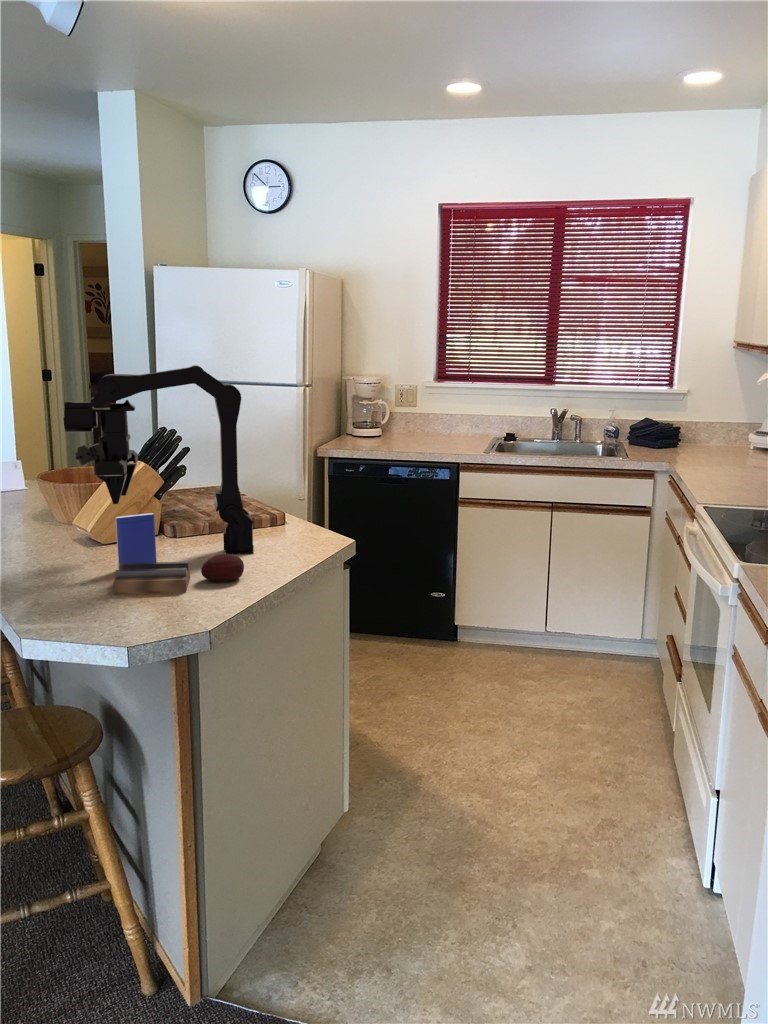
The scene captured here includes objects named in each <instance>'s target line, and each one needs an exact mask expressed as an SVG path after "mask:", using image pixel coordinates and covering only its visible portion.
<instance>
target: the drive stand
mask: <svg viewBox="0 0 768 1024" xmlns="http://www.w3.org/2000/svg"><path fill="white" fill-rule="evenodd" d="M189 562H190V561H168V562H167V561H165V562H163V561H161V562H156V563H122V564H119V569H116V570H115V571H114V579H113V593H114V594H113V595H114V596H121V595H125V596H127V595H150V594H152V595H153V594H154V595H155V594H180V593H181V594H182V593H187V591H188V587H189V584H190V580H191V566H190V563H189Z"/></svg>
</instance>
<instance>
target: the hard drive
mask: <svg viewBox="0 0 768 1024" xmlns="http://www.w3.org/2000/svg"><path fill="white" fill-rule="evenodd" d="M155 524H156V523H155V514H154V513H153V512H150V513H142V514H141V513H140V514H132V515H130V514H129V515H122V516H115V532H116V533H115V535H116V548H117V549H116V551H117V553H116V554H117V568H118V569H117V570H119V564H122V563H156V562H157V561H158V560H157V548H156V547H157V544H156V543H157V542H156V527H155V526H156V525H155Z"/></svg>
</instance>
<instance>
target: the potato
mask: <svg viewBox="0 0 768 1024" xmlns="http://www.w3.org/2000/svg"><path fill="white" fill-rule="evenodd" d="M244 570H245V564H244V562H243V560H242V559H241V557H239V556H238V555H236V554H226V553H220V554H219V553H218V554H215V555H213V556H211V557H209V558H208V559H207V560H205V562H204V563H203V564H202V567H201V571H200V573H201V576H202V577H204V579H206V580H209V581H210V582H215V583H216V582H217V583H226V582H231V581H235V580H238V579H239V578H241V577H242V576H243V573H244Z"/></svg>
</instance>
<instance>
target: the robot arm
mask: <svg viewBox="0 0 768 1024" xmlns="http://www.w3.org/2000/svg"><path fill="white" fill-rule="evenodd" d="M187 385H196V386H198V387H199V388H200V389H202V390H203V391H205V392H206V393H207V394H209V395H210V396H211V397H213V399H214V404H215V407H216V413H217V417H218V422H219V436H220V437H219V438H220V442H219V443H220V444H219V445H220V472H221V473H220V474H221V475H220V477H221V478H220V479H221V481H220V488H219V489H216V488H214V489H213V492H214V497H215V498H214V499H215V500H214V505H213V506H214V509H215V510H214V511H215V512H218V515H219V518H220V520H222V521H223V522H225V523H227V524H226V525H225V530H224V531H223V533H222V534H223V535H222V536H223V551H225V554H232V555H252V554H254V551H255V549H254V532H253V528H254V527H253V526H254V525H253V524H254V521H253V519H252V517H251V514H250V513H249V512H248V511H247V509H245V508H244V505H243V501H242V496H241V492H240V487H239V483H238V482H239V481H238V480H239V479H238V477H239V475H238V438H237V437H238V436H237V435H238V434H237V425H238V424H237V423H238V420H239V415H240V410H241V404H242V395H241V392H240V390H239V389H238V388H237V387H236V386H235V385H234V384H231V383H227V382H226V383H223V382H221V381H220V380H219V379H217V378H215V377H214V376H212V374H210V373H208V372H207V371H205V370H204V369H203V368H202V367H201V366H199V365H198V364H197V365H191V366H188V367H182V368H176V369H169V370H168V369H167V370H163V371H157V372H156V371H155V372H149V373H142V374H131V373H130V374H127V373H126V374H125V373H109V374H106V375H105V374H104V376H102V377H101V378H100V379H99V380H98V382H97V385H96V390H97V393H96V394H95V395H94V396H93V397H91V399H90V400H91V401H70V400H69V401H65V402H64V403H63V404H64V405H63V406H64V408H63V409H64V410H63V411H64V412H63V413H64V414H63V415H64V416H63V426H64V431H65V433H66V434H69V433H93V432H94V428H98V425H99V423H98V422H99V419H100V431H101V433H100V434H101V436H99V438H98V443H95V444H92V445H87V444H83V445H81V446H78V447H77V451H75V452H74V453H75V459H76V460H77V461H78V462H79V464H80V465H81V466H84V465H87V463H90V462H92V461H95V460H98V459H99V461H97V463H96V464H95V465H94V466H93V472H94V476H96V478H98V479H100V480H102V482H104V483H105V485H106V488H107V491H108V494H109V496H110V499H111V501H112V504H113V505H119V503H120V501H121V500H120V499H121V497H122V496H127V493H128V490H129V488H130V484H131V482H132V479H133V476H134V474H135V471H136V467H137V465H138V464H137V463H138V462H139V457H138V456H139V455H138V452H137V451H136V450H134V449H130V440H131V434H130V433H129V424H128V412H134V411H136V407H135V405H133V404H132V403H131V402H130V401H129V399H126V398H129V397H132V396H134V395H137V394H139V393H142V392H148V391H154V390H160V389H166V388H168V389H169V388H173V387H179V386H187ZM124 399H126V400H125V401H124V402H123V403H122V402H120V403H113V402H117V401H121V400H124ZM107 402H109V403H110V404H109V407H102V406H103V405H104V404H106V403H107ZM111 402H112V403H111ZM98 412H99V417H100V418H99V419H98ZM131 462H133V463H131Z"/></svg>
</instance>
